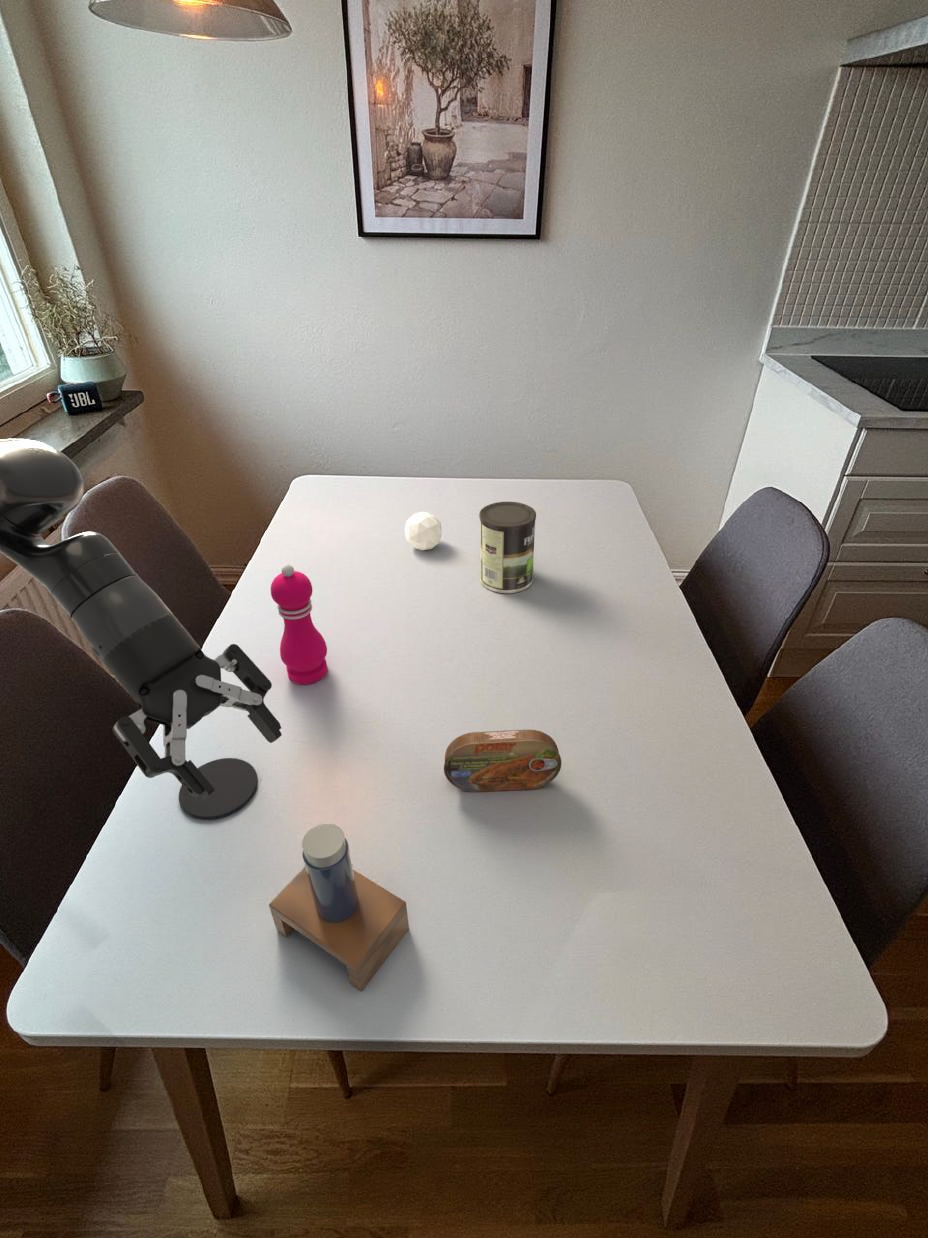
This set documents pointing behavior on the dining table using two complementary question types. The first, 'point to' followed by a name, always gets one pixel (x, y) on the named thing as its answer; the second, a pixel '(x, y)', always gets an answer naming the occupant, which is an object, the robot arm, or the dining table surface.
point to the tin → (502, 760)
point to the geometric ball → (423, 531)
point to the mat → (222, 789)
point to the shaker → (330, 872)
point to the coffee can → (507, 546)
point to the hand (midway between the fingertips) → (244, 765)
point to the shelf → (345, 925)
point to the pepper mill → (298, 628)
